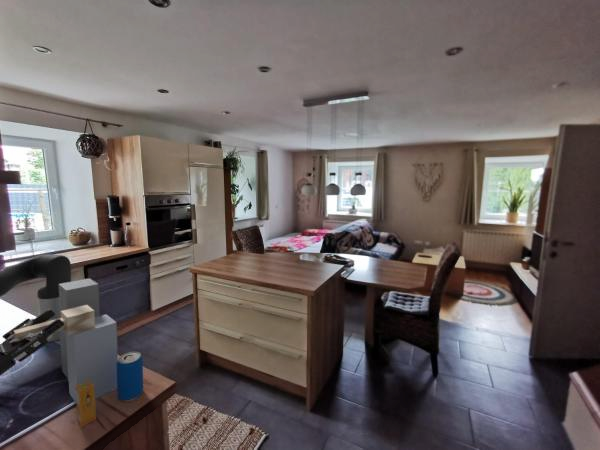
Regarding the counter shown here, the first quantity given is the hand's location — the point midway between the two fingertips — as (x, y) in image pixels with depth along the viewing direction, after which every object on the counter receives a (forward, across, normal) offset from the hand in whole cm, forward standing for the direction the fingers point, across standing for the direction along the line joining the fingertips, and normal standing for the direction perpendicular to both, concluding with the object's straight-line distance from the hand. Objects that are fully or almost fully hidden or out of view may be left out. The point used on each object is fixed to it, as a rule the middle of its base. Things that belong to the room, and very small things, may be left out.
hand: (57, 316), depth 74 cm
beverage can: (-2, +10, -29) cm, 31 cm away
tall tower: (-6, -12, -27) cm, 30 cm away
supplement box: (-11, +11, -24) cm, 29 cm away
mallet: (-3, 0, -4) cm, 5 cm away
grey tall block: (-7, 0, -26) cm, 27 cm away
